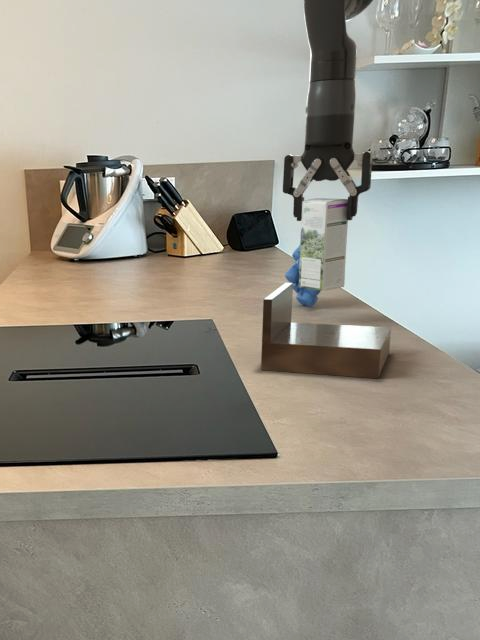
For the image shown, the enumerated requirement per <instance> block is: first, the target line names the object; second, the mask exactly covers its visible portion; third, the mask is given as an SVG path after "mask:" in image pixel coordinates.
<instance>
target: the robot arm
mask: <svg viewBox="0 0 480 640" xmlns="http://www.w3.org/2000/svg"><path fill="white" fill-rule="evenodd" d="M373 2H374V0H303V16H304V23H305V29H306V36H307V42H308V46H309V50H310V59H309V77H308V78H309V80H308V82H309V83H308V90H307V96H306V106H305V131H304V132H305V133H304V149H303V153H302V154H301V155H293V154H287V155H285V156H284V157H283V159H284V160H283V174H282V175H283V176H282V177H283V178H282V192H283V194H285V195H286V194H287V195H290V196H291V197H293V209H292V210H293V213H292V214H293V218H296V221H297V222H301V210H302V201H305V196H304V193H305V192H306V190H307V189H308V187H309V186H311V184H312V182H313V181H315V182H323V181H330V182H334V181H335V182H336V181H338V180H340V182H341V184H342V185H343V186H344V188H345V189H346V191H347V192H348V194H349V196H347V199H348V204H347V220H348V221H353V218H354V217H356V216H357V213H358V205H359V204H358V203H359V196H360V195H361V194H363V193H365V192H368V191H369V190H370V189H371V185H372V168H373V167H372V166H373V152H371V151H365V152H357V153H355V151H354V149H353V142H354V128H355V114H356V113H355V111H356V99H357V98H356V97H357V96H356V73H357V57H358V56H357V54H358V52H357V44H356V42H355V40H354V39H352V38H351V37H350V36H349V35H348V31H347V23H346V22H349V21H351V20H353V19H355V18H356V17H357V16H359V15H361V14H362V13H363V12H364V11H365V10H366V9H368V7H369V6H371V4H372V3H373ZM354 161H356V162H357V166H358V167H360V168H361V180H360V185H357V184H356V183H355V181H354V179H353V176H352V175H351V173H350V172H349V171H348V169H349V168H350V166H352V164H353V162H354ZM300 163H301V164H302V165H303V166H302V167H304V169H305V171H306V173H305V174H304V175H303V176H302V178H301V180H300V181H299V184H297V186H296V187H295V186H294V177H295V175H294V173H295V170H296V169H298V167H299V164H300Z"/></svg>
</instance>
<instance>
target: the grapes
mask: <svg viewBox="0 0 480 640" xmlns="http://www.w3.org/2000/svg"><path fill="white" fill-rule="evenodd" d="M291 256H292V258H293V259H294V261H295V262H294V263H292V265H291V267H289V269H287V271H286V272H285V274H284V277H285V279H286V280H287V281H288V283H293V291H294V292H295V293H296V297H295V299H296V301H297V302H298V303H299V304H300V305H301V306H303V307H305V306H306V307H308V308H311V307H313V306H314V305H316V303H317V302H318V299H319V297H318V296H319V294H320V293H321V291H322V290H314V289H308V288H302V287H299V266H300V244H299V245H298V247H296V249H294V251H293V253H292V255H291Z"/></svg>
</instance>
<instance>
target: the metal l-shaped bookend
mask: <svg viewBox="0 0 480 640" xmlns="http://www.w3.org/2000/svg"><path fill="white" fill-rule="evenodd" d="M293 291H294V289H293V283H290V282H284V283H283V284H282V285H281V286H279V287H278V288H276V289H275V290H274V291H273V292H271V293H270V294H268V295H267V296H266V297H264V298H263V299H262V300H263V302H262V303H263V304H262V305H263V306H262V329H261V331H262V332H261V355H260V356H261V358H260V360H261V362H260V371H268V372H269V371H270V372H280V373H281V372H282V373H295V374H296V373H298V374H308V375H322V376H337V377H349V378H351V377H352V378H363V379H364V378H365V379H379V377H380V375H381V372H382V371H383V368H384V366H385V364H386V361H387V359H388V356H389V354H390V345H391V335H392V327H390V326H389V327H388V326H372V325H371V326H369V325H350V324H348V325H347V324H331V323H329V324H328V323H310V322H308V323H306V322H292V315H293V313H292V312H293Z"/></svg>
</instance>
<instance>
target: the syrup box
mask: <svg viewBox="0 0 480 640" xmlns="http://www.w3.org/2000/svg"><path fill="white" fill-rule="evenodd" d="M347 204H348V198H323V197H322V198H321V197H319V198H310V199H306V200H305V199H304V201H302V210H301V221H300V238H299V239H300V240H299V241H300V243H299V245H300V266H299V287H302V288H308V289H314V290H321V291H324V292H325V291H332V290H336V289H342V288H344V287H345V282H346V281H345V279H346V258H347V241H348V226H349V225H348V224H349V220H347Z"/></svg>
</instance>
